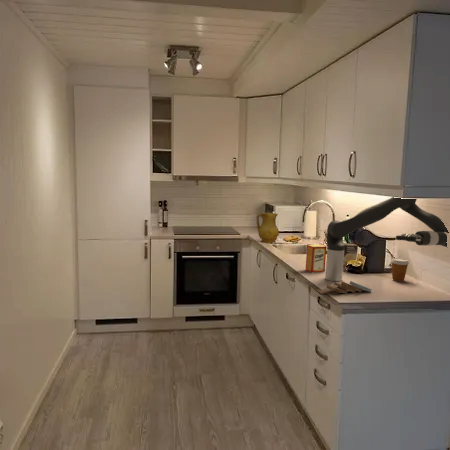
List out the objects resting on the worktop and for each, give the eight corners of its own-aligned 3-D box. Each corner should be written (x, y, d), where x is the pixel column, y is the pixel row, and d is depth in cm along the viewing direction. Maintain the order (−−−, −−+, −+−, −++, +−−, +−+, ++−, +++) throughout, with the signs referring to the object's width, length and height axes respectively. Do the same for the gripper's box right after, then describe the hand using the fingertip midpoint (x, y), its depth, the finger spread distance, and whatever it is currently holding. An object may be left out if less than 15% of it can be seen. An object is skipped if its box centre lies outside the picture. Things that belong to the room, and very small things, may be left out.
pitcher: (267, 243, 353) (268, 213, 352) (252, 241, 368) (254, 212, 367) (282, 243, 363) (284, 213, 362) (268, 240, 378) (269, 212, 377)
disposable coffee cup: (400, 282, 242) (402, 262, 241) (385, 279, 250) (387, 258, 248) (410, 281, 247) (412, 260, 246) (396, 277, 255) (397, 257, 254)
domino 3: (349, 287, 222) (334, 281, 218) (355, 290, 217) (340, 284, 213) (348, 290, 222) (333, 284, 218) (354, 293, 217) (339, 287, 213)
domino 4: (356, 286, 224) (341, 281, 220) (362, 289, 219) (347, 283, 215) (355, 289, 224) (340, 284, 220) (361, 292, 219) (346, 286, 215)
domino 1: (334, 289, 220) (316, 289, 217) (339, 291, 215) (321, 292, 212) (334, 292, 220) (316, 292, 217) (339, 294, 215) (321, 295, 212)
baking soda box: (318, 269, 268) (320, 244, 266) (324, 271, 262) (326, 245, 260) (305, 270, 264) (307, 244, 262) (311, 272, 258) (313, 246, 256)
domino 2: (340, 287, 220) (327, 284, 214) (347, 290, 215) (334, 287, 210) (339, 290, 220) (326, 287, 214) (346, 293, 215) (333, 290, 210)
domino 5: (366, 286, 224) (350, 280, 222) (371, 289, 220) (355, 283, 217) (365, 289, 225) (349, 283, 222) (370, 292, 220) (354, 286, 217)
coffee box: (341, 270, 268) (343, 244, 266) (338, 268, 274) (340, 243, 272) (356, 270, 268) (358, 245, 266) (352, 268, 274) (354, 243, 272)
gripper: (418, 229, 229) (389, 228, 225) (436, 232, 216) (405, 232, 212) (417, 243, 230) (388, 242, 226) (434, 247, 217) (403, 247, 213)
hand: (396, 237), depth 219 cm, fingers closed
